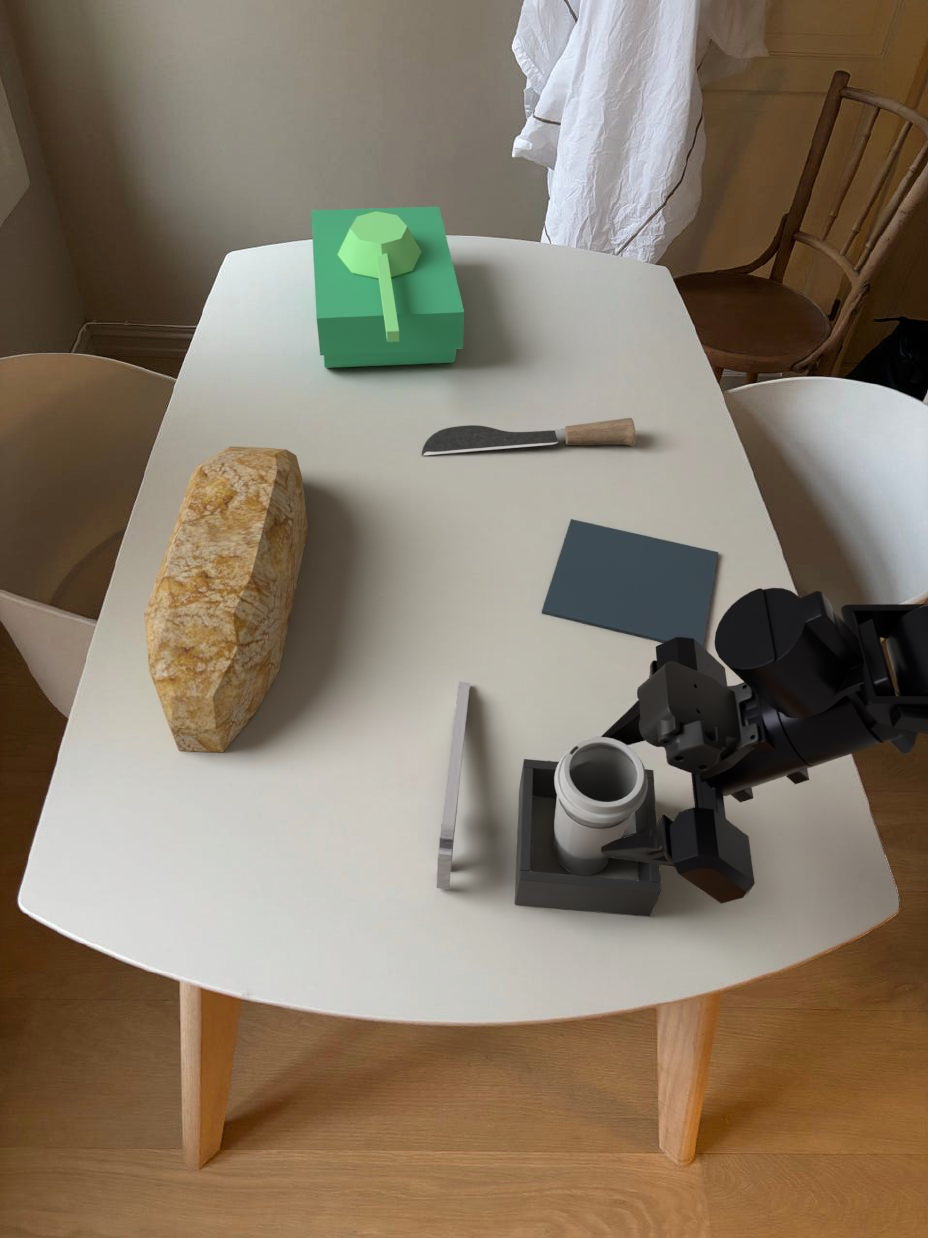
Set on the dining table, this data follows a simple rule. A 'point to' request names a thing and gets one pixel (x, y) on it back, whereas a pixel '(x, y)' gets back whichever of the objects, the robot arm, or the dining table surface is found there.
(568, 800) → the cup
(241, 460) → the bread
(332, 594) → the dining table surface
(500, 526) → the dining table surface
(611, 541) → the mat
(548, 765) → the holder
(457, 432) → the hand tool
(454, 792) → the caliper
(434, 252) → the toy tank
